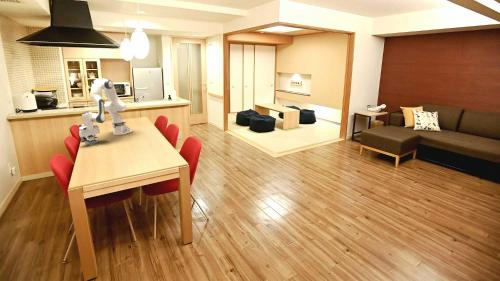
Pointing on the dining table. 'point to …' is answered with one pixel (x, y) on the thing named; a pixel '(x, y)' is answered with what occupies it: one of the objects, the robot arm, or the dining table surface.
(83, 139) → the vintage camera
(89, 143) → the lens mount
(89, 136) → the lens
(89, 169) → the dining table surface
